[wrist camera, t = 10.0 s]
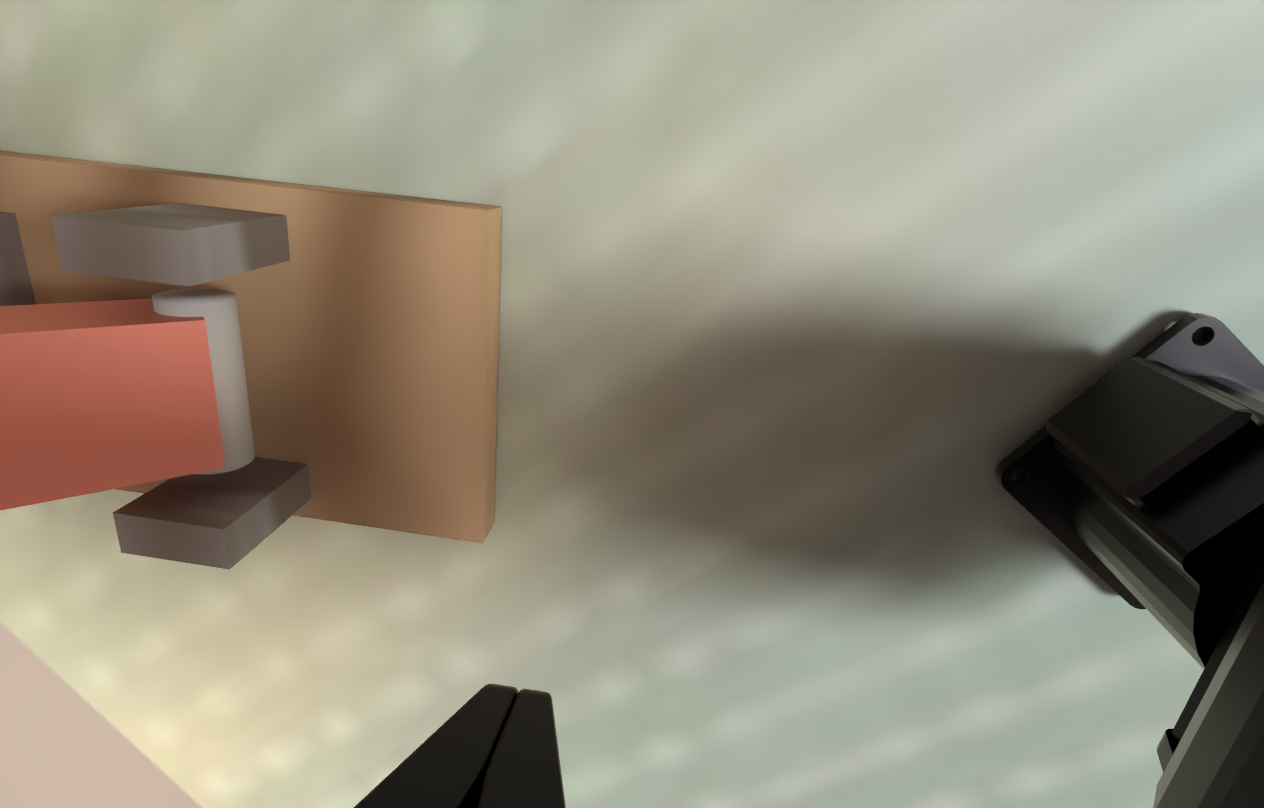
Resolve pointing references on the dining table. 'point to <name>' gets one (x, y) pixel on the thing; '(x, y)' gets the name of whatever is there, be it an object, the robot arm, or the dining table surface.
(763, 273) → the dining table surface
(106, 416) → the lever
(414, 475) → the base
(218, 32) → the dining table surface
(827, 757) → the dining table surface
